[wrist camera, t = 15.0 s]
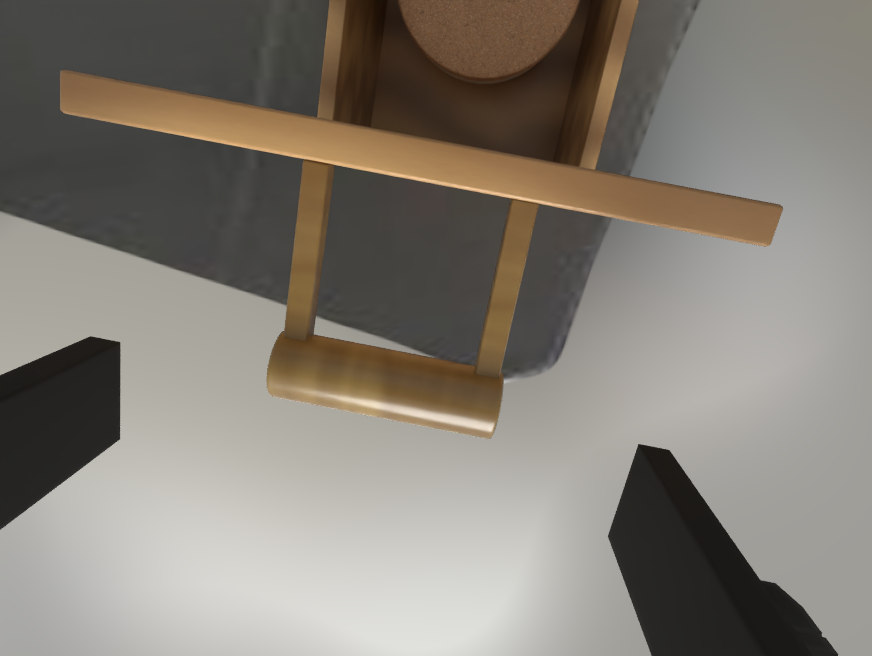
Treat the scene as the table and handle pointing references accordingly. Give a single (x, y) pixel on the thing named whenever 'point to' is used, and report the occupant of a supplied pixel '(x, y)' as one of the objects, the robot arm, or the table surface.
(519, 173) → the lid
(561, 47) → the chest
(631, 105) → the table surface
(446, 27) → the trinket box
